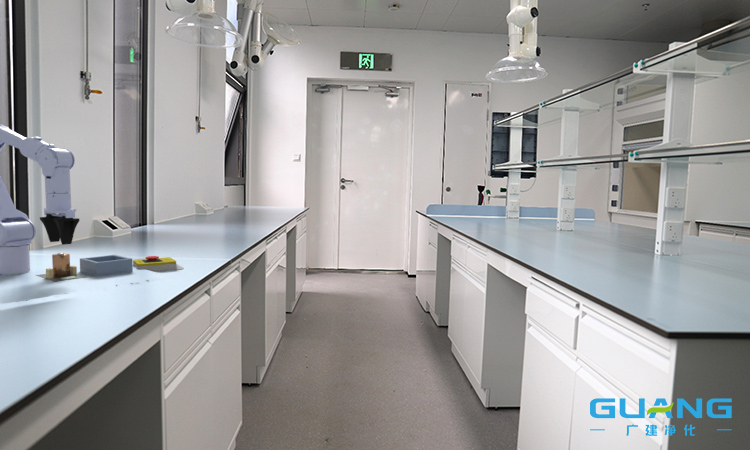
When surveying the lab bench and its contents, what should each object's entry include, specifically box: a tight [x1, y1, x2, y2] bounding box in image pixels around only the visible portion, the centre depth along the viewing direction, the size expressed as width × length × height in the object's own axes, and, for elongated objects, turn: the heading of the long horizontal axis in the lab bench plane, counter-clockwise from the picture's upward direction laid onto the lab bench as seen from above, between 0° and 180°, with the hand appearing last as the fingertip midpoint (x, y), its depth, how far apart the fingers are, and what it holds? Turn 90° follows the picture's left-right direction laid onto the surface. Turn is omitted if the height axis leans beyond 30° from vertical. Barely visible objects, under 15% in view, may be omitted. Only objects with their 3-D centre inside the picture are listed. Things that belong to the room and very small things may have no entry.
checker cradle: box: [35, 265, 87, 283], centre depth 130 cm, size 12×8×4 cm, turn 56°
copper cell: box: [51, 252, 71, 278], centre depth 130 cm, size 4×4×6 cm
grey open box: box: [79, 254, 134, 277], centre depth 138 cm, size 10×10×5 cm
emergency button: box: [132, 255, 184, 273], centre depth 150 cm, size 9×4×15 cm
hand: (60, 242), depth 129 cm, fingers open, 7 cm apart
